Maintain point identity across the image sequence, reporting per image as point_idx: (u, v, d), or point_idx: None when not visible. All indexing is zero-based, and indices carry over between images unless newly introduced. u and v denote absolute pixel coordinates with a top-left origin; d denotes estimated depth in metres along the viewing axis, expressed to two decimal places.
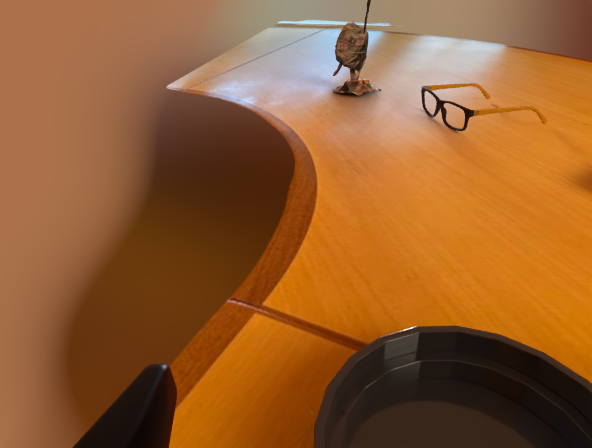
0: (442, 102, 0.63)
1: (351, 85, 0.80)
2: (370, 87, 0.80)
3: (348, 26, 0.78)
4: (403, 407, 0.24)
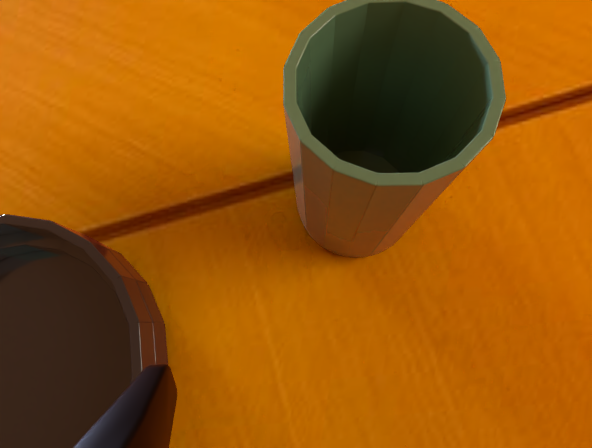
0: None
1: None
2: None
3: None
4: None
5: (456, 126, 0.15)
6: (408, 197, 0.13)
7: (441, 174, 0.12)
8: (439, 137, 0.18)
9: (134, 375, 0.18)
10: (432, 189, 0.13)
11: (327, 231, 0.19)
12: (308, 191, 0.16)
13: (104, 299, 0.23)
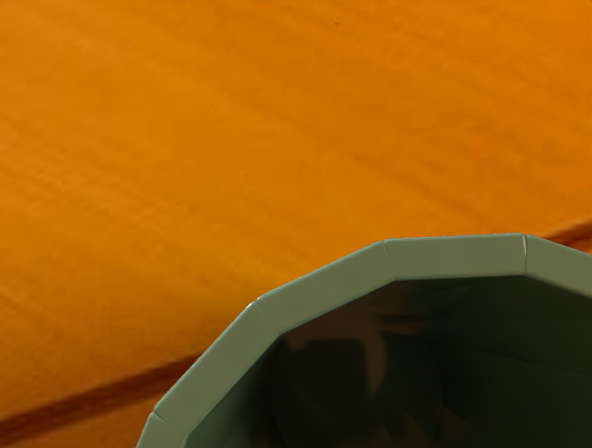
0: None
1: None
2: None
3: None
4: None
5: None
6: None
7: None
8: (533, 407, 0.08)
9: None
10: None
11: None
12: None
13: None
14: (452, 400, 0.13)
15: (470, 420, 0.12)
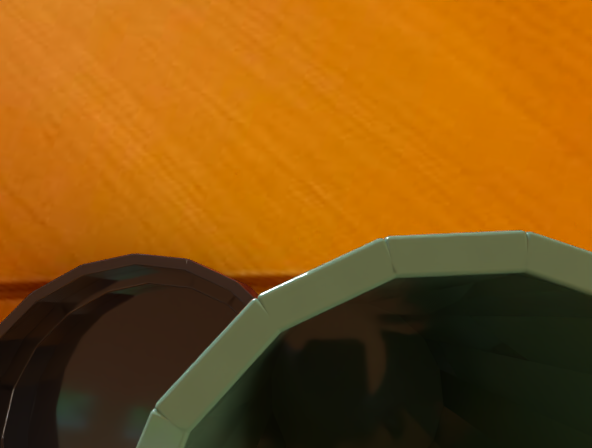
0: None
1: None
2: None
3: None
4: (80, 361, 0.20)
5: None
6: None
7: None
8: (534, 406, 0.08)
9: None
10: None
11: None
12: None
13: None
14: (452, 399, 0.13)
15: (470, 419, 0.12)
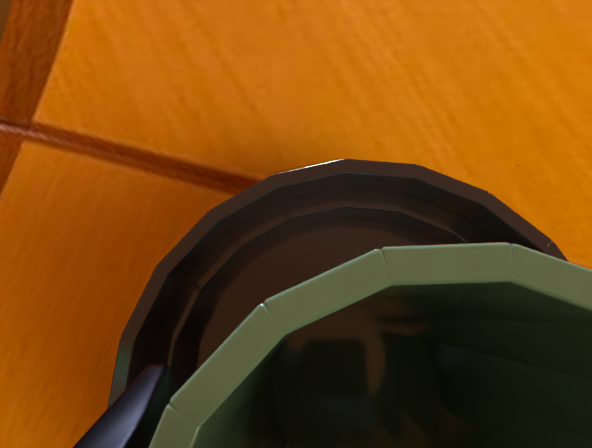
0: None
1: None
2: None
3: None
4: (270, 283, 0.16)
5: None
6: None
7: None
8: (526, 406, 0.09)
9: None
10: None
11: None
12: None
13: None
14: (449, 400, 0.13)
15: (466, 419, 0.12)
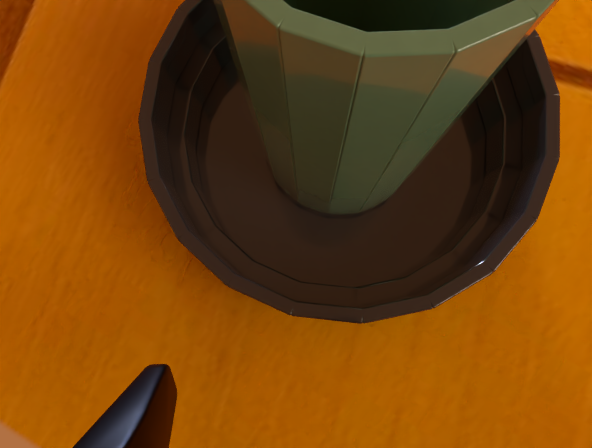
0: None
1: None
2: None
3: None
4: None
5: None
6: (423, 90, 0.07)
7: (492, 30, 0.06)
8: None
9: (528, 213, 0.14)
10: (467, 76, 0.07)
11: (297, 175, 0.13)
12: (259, 106, 0.10)
13: None
14: None
15: None
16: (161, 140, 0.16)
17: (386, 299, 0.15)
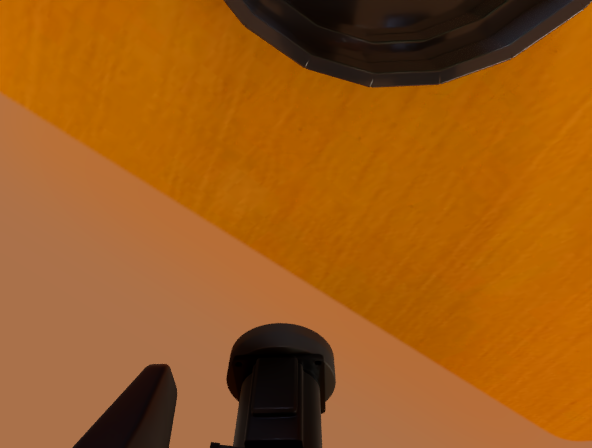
0: None
1: None
2: None
3: None
4: None
5: None
6: None
7: None
8: None
9: None
10: None
11: None
12: None
13: None
14: None
15: None
16: None
17: (398, 60, 0.15)
